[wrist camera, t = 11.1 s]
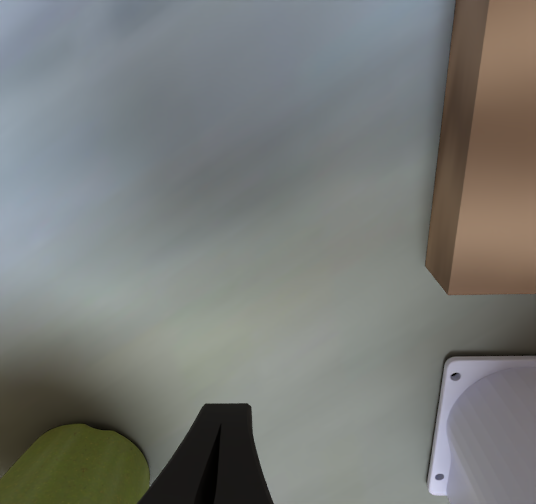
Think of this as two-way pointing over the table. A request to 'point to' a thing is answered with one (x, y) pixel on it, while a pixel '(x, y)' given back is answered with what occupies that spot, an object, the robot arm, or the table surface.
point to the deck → (487, 154)
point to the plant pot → (77, 469)
